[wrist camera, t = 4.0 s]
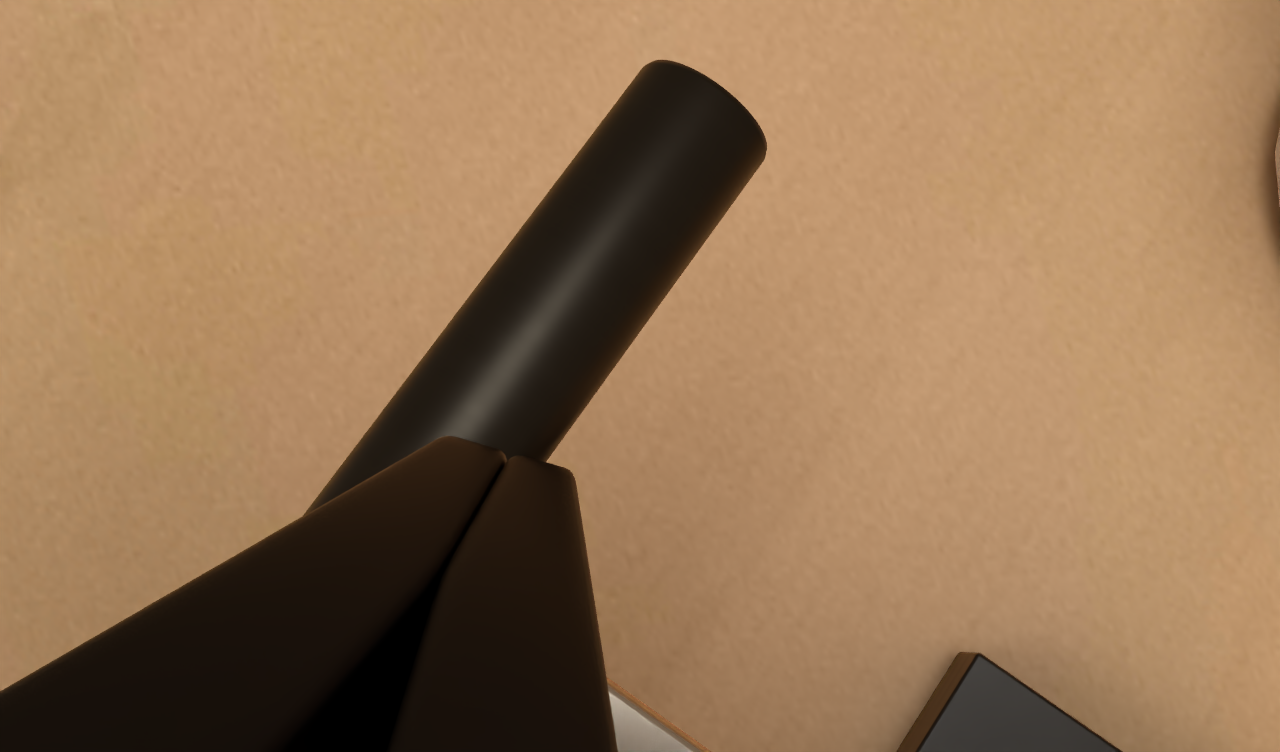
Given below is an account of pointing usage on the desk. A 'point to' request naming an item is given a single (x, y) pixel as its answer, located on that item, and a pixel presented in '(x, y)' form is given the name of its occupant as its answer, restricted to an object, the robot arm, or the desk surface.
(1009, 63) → the desk surface
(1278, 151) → the mug
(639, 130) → the lever handle
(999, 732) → the bracket
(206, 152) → the desk surface
